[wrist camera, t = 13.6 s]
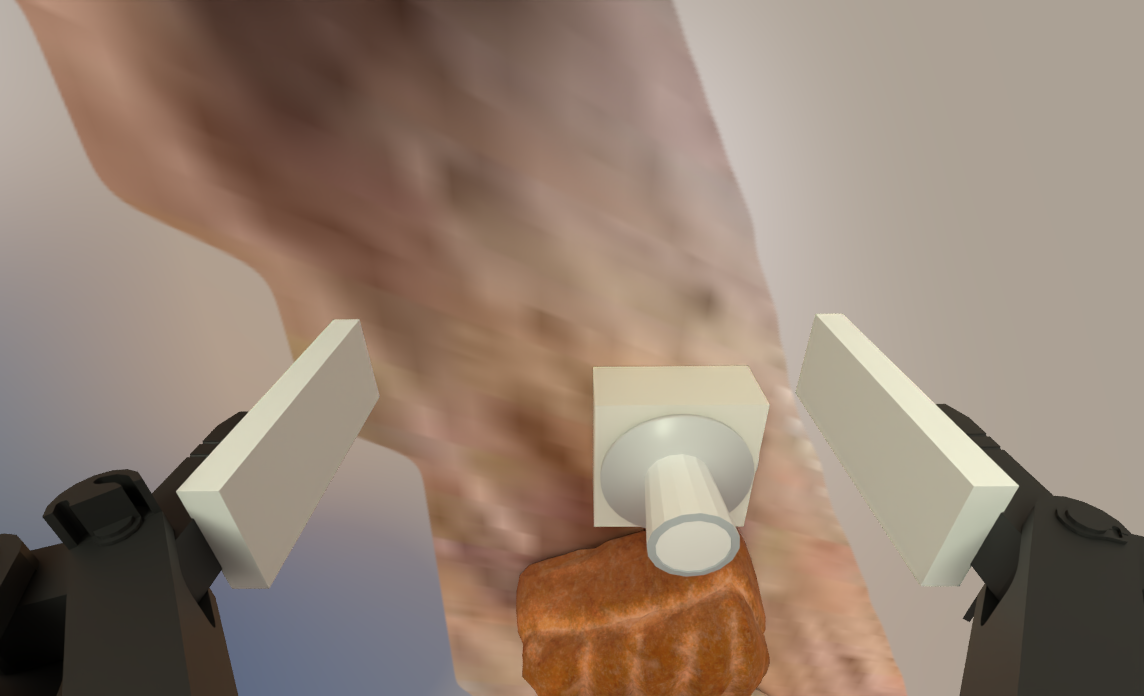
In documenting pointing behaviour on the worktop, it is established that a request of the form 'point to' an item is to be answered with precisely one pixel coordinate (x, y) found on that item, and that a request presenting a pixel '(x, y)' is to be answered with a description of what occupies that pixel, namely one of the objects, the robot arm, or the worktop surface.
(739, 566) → the bread
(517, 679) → the worktop surface
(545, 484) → the worktop surface
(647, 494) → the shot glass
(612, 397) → the kitchen scale
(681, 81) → the worktop surface
